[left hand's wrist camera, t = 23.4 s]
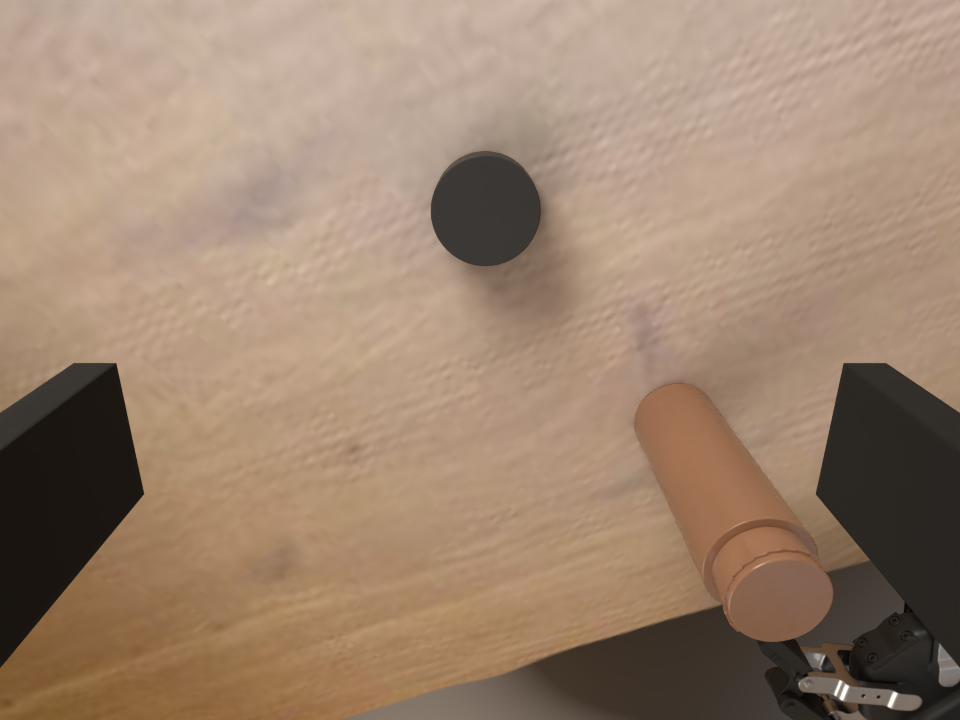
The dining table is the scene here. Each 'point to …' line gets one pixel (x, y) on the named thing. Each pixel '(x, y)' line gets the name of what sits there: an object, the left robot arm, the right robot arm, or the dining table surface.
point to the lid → (485, 208)
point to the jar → (732, 518)
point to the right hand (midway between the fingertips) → (820, 581)
